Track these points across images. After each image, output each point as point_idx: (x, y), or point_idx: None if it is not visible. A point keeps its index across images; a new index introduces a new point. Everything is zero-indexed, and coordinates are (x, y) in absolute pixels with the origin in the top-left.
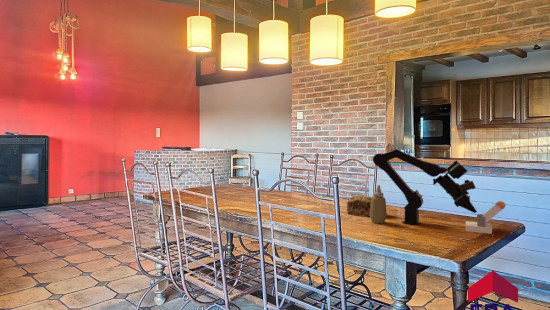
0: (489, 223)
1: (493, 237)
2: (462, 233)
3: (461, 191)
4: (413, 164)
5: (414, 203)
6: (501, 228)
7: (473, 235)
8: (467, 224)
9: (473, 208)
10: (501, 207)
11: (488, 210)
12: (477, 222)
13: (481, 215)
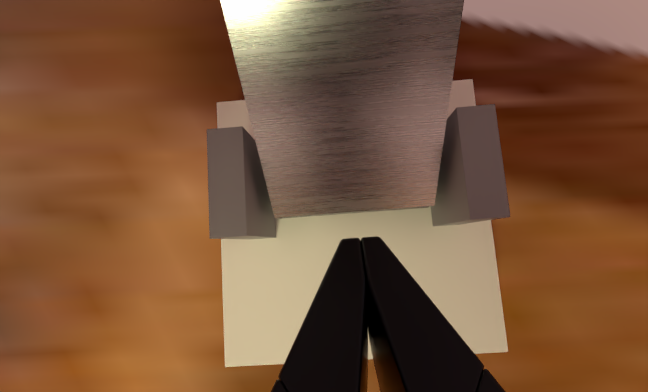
0: (222, 113)
1: (593, 86)
2: (607, 357)
3: None
4: None
5: None
6: (157, 41)
7: (629, 251)
8: None
9: (432, 313)
10: None
11: (244, 28)
12: (477, 221)
13: (247, 174)
